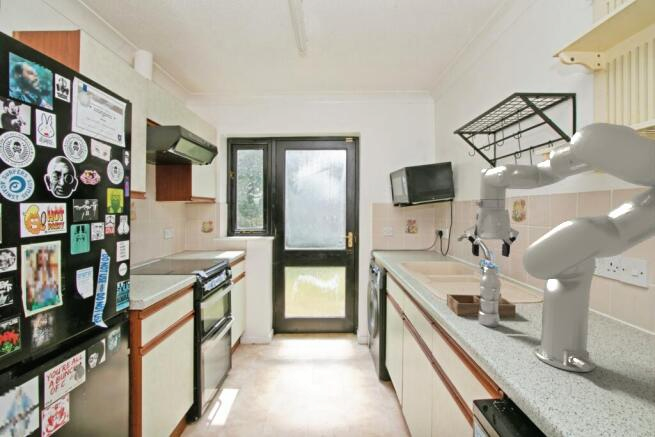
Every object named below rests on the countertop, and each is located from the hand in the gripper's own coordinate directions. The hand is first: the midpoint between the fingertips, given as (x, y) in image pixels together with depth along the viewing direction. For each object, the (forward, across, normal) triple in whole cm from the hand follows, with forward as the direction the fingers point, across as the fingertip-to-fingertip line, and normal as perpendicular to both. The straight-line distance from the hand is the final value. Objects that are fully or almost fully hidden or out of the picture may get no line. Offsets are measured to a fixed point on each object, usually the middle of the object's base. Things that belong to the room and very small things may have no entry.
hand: (490, 255), depth 102 cm
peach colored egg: (+23, +7, +13) cm, 28 cm away
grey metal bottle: (+24, 0, 0) cm, 24 cm away
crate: (+24, +2, +13) cm, 27 cm away
